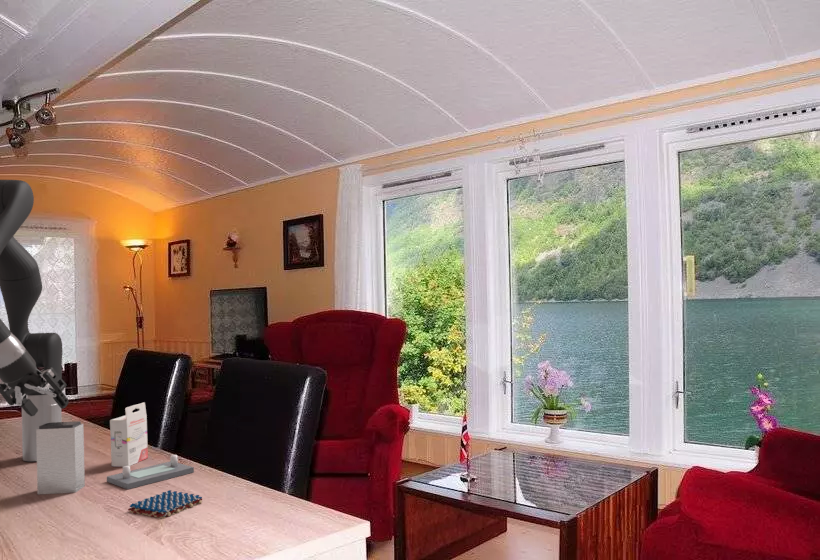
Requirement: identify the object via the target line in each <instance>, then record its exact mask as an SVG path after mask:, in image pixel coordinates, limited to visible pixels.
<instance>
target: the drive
mask: <svg viewBox="0 0 820 560" xmlns="http://www.w3.org/2000/svg"><path fill="white" fill-rule="evenodd" d="M84 433H85V432H84V423H82V422H81V421H80V420H79V421H75V420H74V421H62V422H53V423H46V424H44V425H41V426H39V429H36V443H37V461H36V479H37V480H36V486H37V488H36V489H37V495H52V494H53V495H55V494H71V493H72V494H73V493H77V492H79V491H80V490H82V489H83V488H84V487H85V486H86V485H85V483H86V482H85V480H86V479H85V436H84V435H85V434H84Z"/></svg>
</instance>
